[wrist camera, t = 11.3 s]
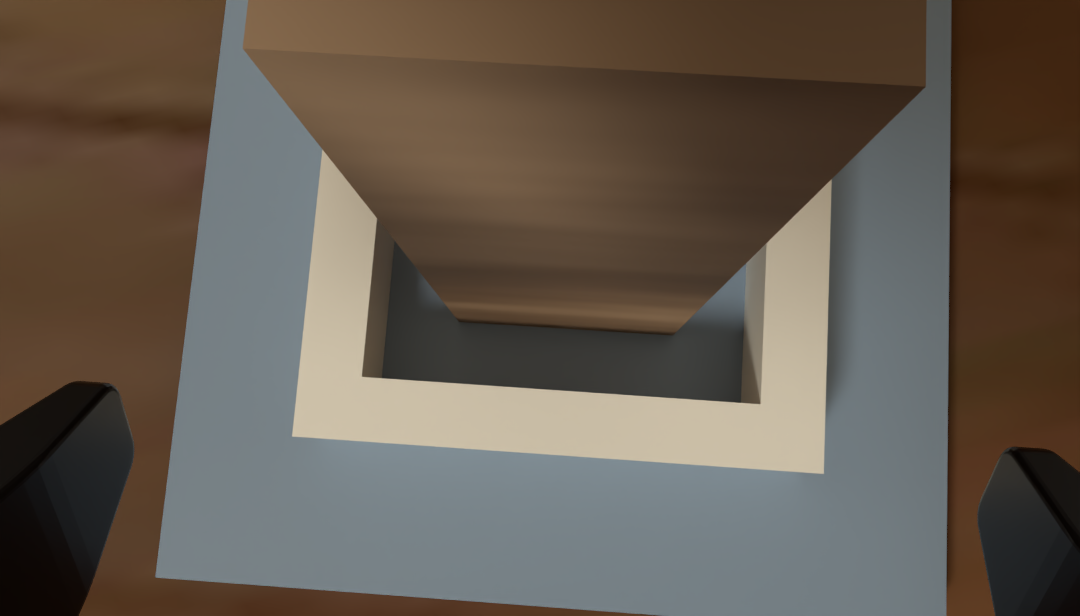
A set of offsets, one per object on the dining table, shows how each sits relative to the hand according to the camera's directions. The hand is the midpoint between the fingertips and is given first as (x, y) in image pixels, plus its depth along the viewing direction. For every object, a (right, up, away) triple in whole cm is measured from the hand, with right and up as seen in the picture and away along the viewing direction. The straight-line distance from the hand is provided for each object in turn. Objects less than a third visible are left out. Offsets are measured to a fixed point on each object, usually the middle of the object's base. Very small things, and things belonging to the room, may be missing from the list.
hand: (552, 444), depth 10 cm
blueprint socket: (+1, +3, +12) cm, 12 cm away
